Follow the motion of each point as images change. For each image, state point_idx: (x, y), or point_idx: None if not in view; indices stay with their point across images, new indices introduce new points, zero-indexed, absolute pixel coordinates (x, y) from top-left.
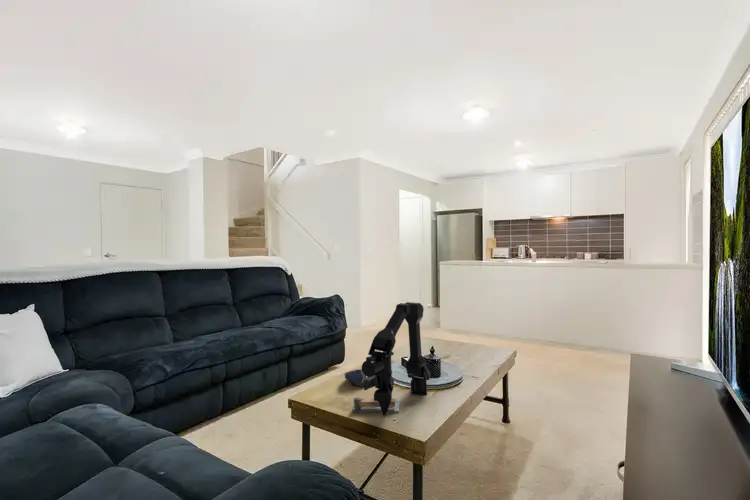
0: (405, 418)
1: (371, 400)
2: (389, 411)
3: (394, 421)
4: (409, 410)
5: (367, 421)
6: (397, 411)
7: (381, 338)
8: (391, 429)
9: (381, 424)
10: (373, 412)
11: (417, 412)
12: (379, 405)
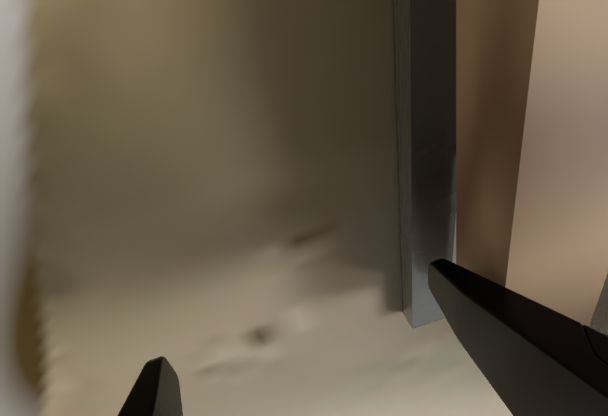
0: (316, 381)
1: (605, 41)
2: (408, 259)
3: (233, 347)
4: (456, 349)
5: (76, 83)
6: (411, 318)
7: None
8: (57, 391)
9: (104, 283)
10: (397, 67)
11: (425, 393)
12: (470, 187)
